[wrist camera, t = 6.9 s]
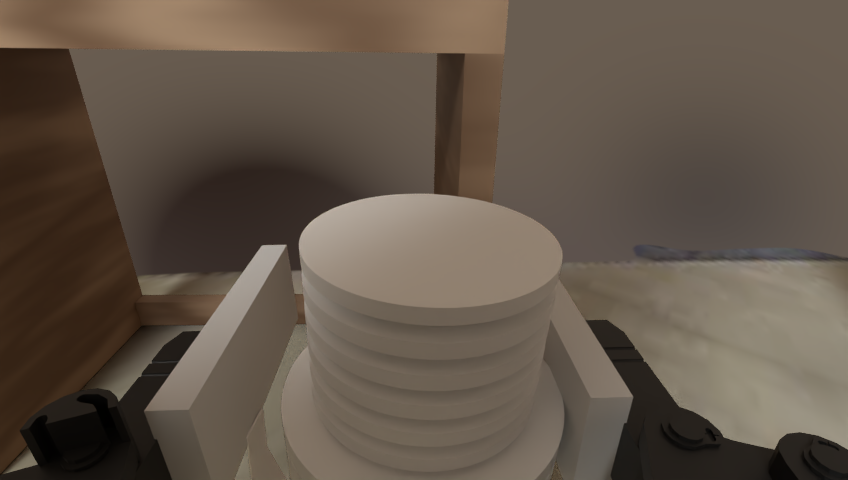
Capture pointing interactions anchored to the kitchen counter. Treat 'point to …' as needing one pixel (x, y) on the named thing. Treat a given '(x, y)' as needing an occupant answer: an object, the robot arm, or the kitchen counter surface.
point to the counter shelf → (87, 181)
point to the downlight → (421, 346)
